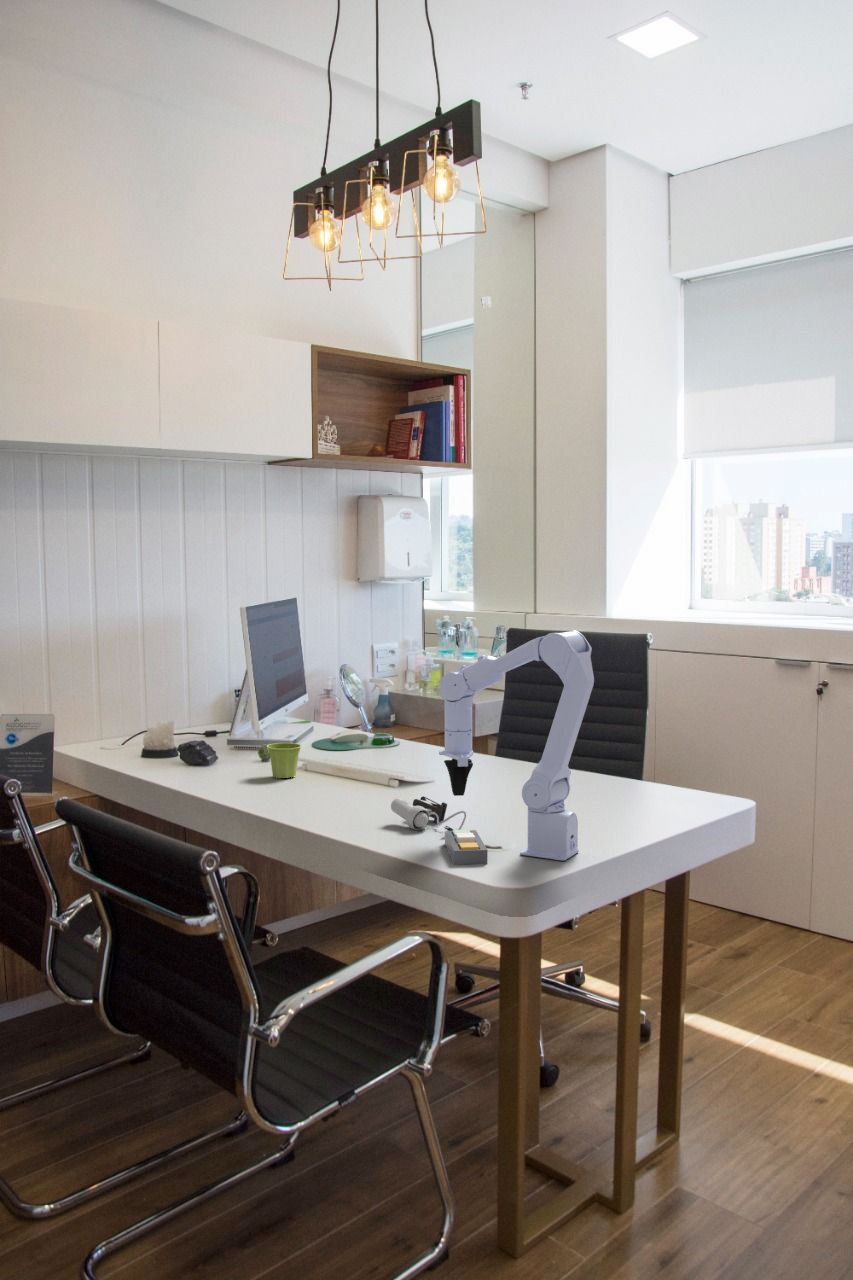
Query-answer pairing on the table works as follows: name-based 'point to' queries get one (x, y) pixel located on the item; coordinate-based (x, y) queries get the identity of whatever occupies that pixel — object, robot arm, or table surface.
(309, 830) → the table surface
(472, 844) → the amber key
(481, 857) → the keypad
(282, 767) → the plant pot
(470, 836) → the middle key
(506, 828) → the table surface
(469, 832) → the sage key
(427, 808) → the clip-on lamp
